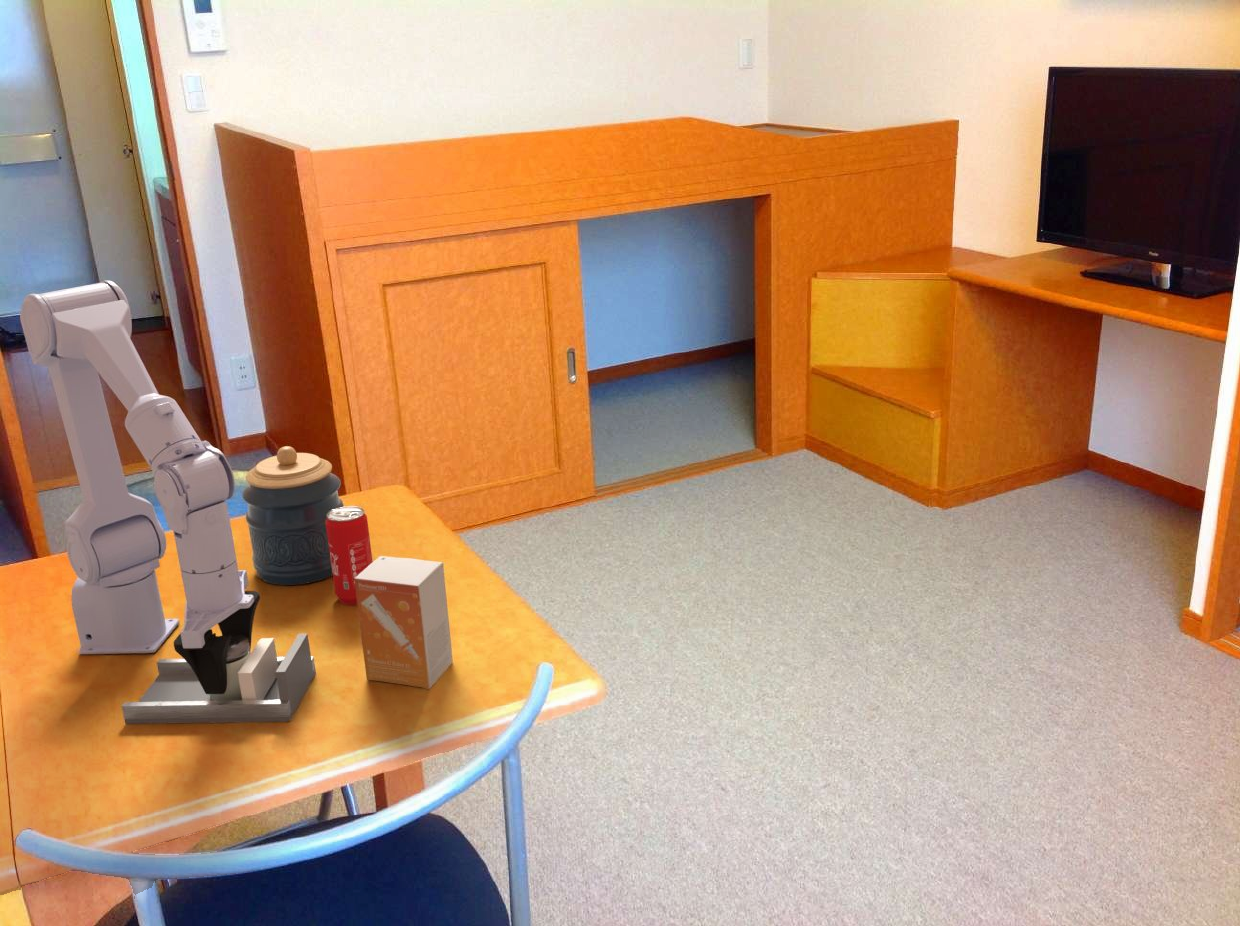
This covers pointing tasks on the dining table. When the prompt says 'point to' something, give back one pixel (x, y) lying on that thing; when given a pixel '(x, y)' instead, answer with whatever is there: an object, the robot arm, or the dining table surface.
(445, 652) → the small box
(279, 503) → the canister
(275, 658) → the block
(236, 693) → the cream jar with lid
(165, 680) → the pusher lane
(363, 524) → the beverage can
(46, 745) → the dining table surface
